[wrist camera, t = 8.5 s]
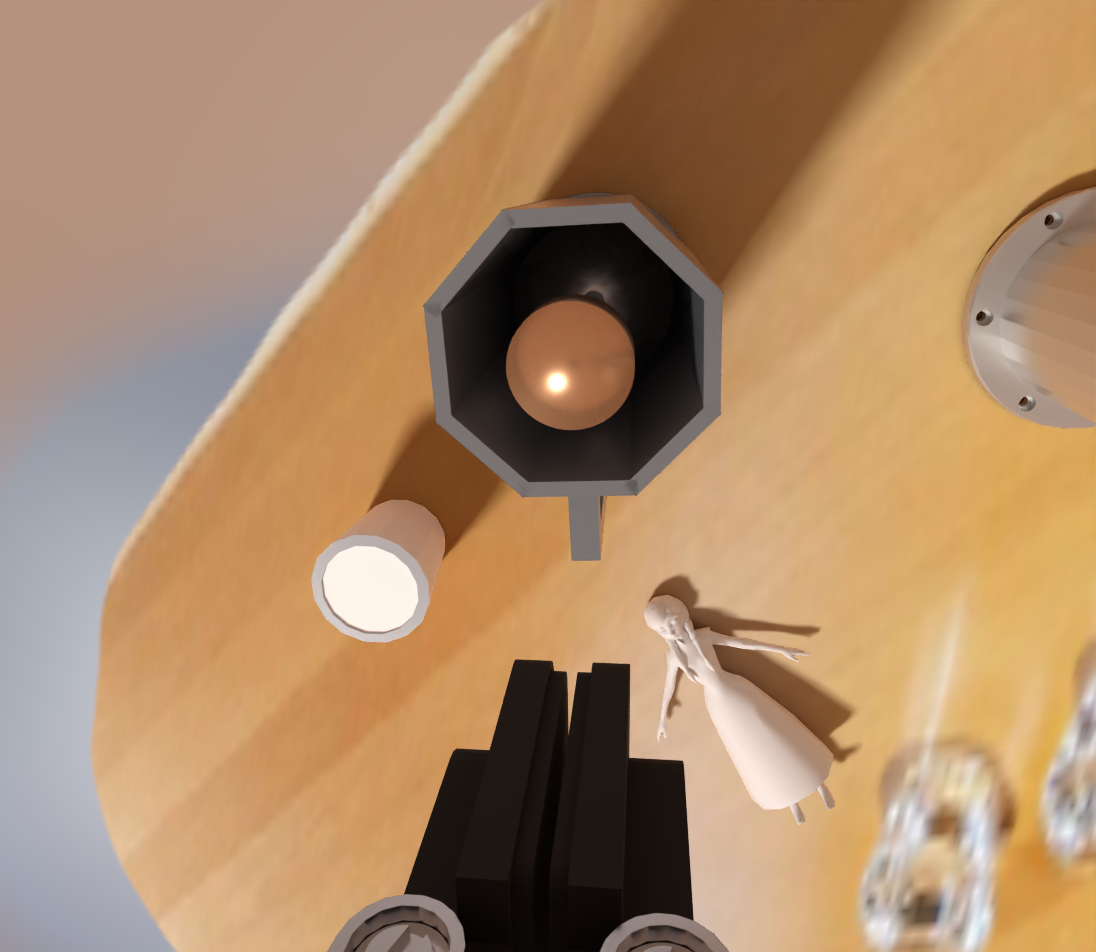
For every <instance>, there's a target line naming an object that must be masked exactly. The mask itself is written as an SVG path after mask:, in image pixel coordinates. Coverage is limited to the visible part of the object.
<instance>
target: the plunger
mask: <svg viewBox="0 0 1096 952" xmlns="http://www.w3.org/2000/svg"><path fill="white" fill-rule="evenodd" d="M514 307H515V314H516V319H517V322H518V326H519V328H518V330H517V331H516V333H515V334H514V336H513V338H512V340H511V343H510V345H509V348H508V352H507V359H506V373H507V379H508V383H509V387H510V389H511V391H512V394H513V396H514V397H515V399H516V401H517V402H518V403H519V405H520V406H521V407H522V408H523V409H524V410H525V411H526V412H527V413H528V414H529V415H530V416H531V417H533V418H534V419H535V420H537V421H539V422H541V423H543V424H545V425H547V426H550V427H553V428H556V429H562V430H580V429H585V428H590V427H592V426H595V425H598V424H600V423H602V422H604V421H605V420H607V419H608V418H609V417H611V416H612V415H613V414H614V413H615V412H617V410H618V409H619V408H620V407H621V406H622V405H623V403H624V401H625V400H626V398H627V396H628V394H629V392H630V390H631V387H632V384H633V379H634V372H635V368H637V367H638V366H640V365H641V364H643V363H644V362H645V361H646V360H647V359H648V358H649V357H650V356H651V355H652V354H653V353H654V352H655V351H656V350H657V348H658V347H659V345H660V344H661V342H662V341H663V339H664V337H665V335H666V333H667V331H668V329H669V326H670V323H671V320H672V314H673V309H674V289H673V283H672V279H671V275H670V272H669V269H668V266H667V264H666V263H665V262H664V261H663V260H662V259H661V258H660V257H659V256H658V255H657V254H656V253H655V252H654V251H652V250H651V249H650V248H649V247H648V246H647V245H646V244H645V243H644V242H643V241H642V240H641V239H640V238H639V237H638V236H637V235H636V234H635V233H634V232H633V231H632V230H631V229H630V228H629V227H627V226H626V225H625V224H624V223H622V222H618V223H600V224H582V225H564V226H559V227H558V228H556V229H554V230H552V231H551V232H549V233H548V234H547V235H545V236H544V237H543V238H542V239H541V240H540V241H539V242H538V243H537V244H536V245H535V246H534V247H533V248H532V249H531V251H530V252H529V254H528V255H527V257H526V258H525V260H524V262H523V264H522V266H521V268H520V271H519V273H518V277H517V281H516V285H515V293H514Z"/></svg>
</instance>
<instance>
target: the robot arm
mask: <svg viewBox="0 0 1096 952" xmlns="http://www.w3.org/2000/svg"><path fill="white" fill-rule="evenodd" d="M1047 215H1049V216H1050V221H1049V223H1048V224H1046V225H1045V223H1044V221H1045V218H1046V216H1047ZM980 311H982V314H983V315H982V317H981V318H980V319H979V320H976V316H977V314H978V313H979V312H980ZM962 337H963V346H964V350H965V354H966V358H967V362H968V365H969V366H970V368H971V370H972V372H973V374H974V376H975V378H976V380H977V382H978V383H979V384H980V385H981V387H982V388H983V389H984V390H985V391H986V393H987V394H988V395H989V396H990V397H991V398H992V399H993V400H995V401H996V402H997V403H999V404H1000V405H1001V406H1003V407H1004V408H1005V409H1007V410H1008V411H1010V412H1011V413H1013V414H1015V415H1016V416H1018V417H1020V418H1023V419H1025V420H1028V421H1031V422H1034V423H1037V424H1039V425H1042V426H1049V427H1055V428H1062V429H1078V428H1092V427H1096V186H1094V187H1090V188H1086V189H1082V190H1078V191H1073V192H1069V193H1067V194H1065V195H1062V196H1060V197H1058V198H1055V199H1053V200H1051V201H1048V202H1046V203H1044V204H1042V205H1041V206H1039V207H1038V208H1036V209H1035V210H1033V211H1031V212H1030V213H1028V214H1027V215H1025V216H1024V217H1022V218H1021V219H1020V220H1019V221H1018V222H1016V223H1015V224H1014V225H1013V226H1012V227H1011V228H1010V229H1008V230H1007V231H1006V232H1005V233H1004V234H1003V235H1002V236H1001V237H1000V238H999V240H998V241H997V242H996V243H995V245H994V246H993V247H992V248H991V249H990V251H989V252H988V253H987V254H986V256H985V258H984V259H983V261H982V263H981V265H980V266H979V268H978V270H977V272H976V273H975V275H974V277H973V280H972V282H971V285H970V288H969V291H968V294H967V296H966V299H965V305H964V311H963V318H962ZM1023 397H1024V401H1023V402H1022V403H1020V404H1019V402H1020V400H1021V399H1022V398H1023ZM629 726H630V664H614V663H593V664H592V672H591V673H587V672H578V674H577V680H576V687H575V694H574V701H573V709H572V716H571V723H570V730H569V735H568V687H567V672H563V671H554V666H553V662H552V661H541V660H515V661H514V664H513V667H512V671H511V675H510V678H509V682H508V686H507V689H506V693H505V696H504V700H503V704H502V707H501V711H500V715H499V718H498V722H497V726H496V729H495V733H494V736H493V740H492V744H491V747H490V750H473V749H456V750H454V751H453V753H452V756H451V758H450V761H449V763H448V766H447V769H446V772H445V775H444V778H443V781H442V784H441V787H440V790H439V793H438V796H437V799H436V802H435V805H434V808H433V811H432V813H431V816H430V819H429V822H428V825H427V828H426V831H425V834H424V837H423V840H422V843H421V846H420V849H419V852H418V855H417V858H416V861H415V863H414V866H413V869H412V872H411V875H410V878H409V881H408V884H407V887H406V890H405V893H404V895H398V896H393V897H388V898H384V899H382V900H379V901H377V902H375V903H373V904H371V905H368V906H366V907H365V908H363V909H362V910H361V911H360V912H358V913H357V914H356V915H354V916H353V917H352V918H350V919H349V920H348V922H347V923H346V924H345V926H344V927H343V928H342V929H341V931H340V932H339V933H338V934H337V936H336V937H335V939H334V941H333V943H332V944H331V946H330V948H329V949H328V951H327V952H729V951H728V949H727V948H726V947H725V946H724V945H723V944H722V942H721V941H720V940H719V939H718V938H717V937H716V936H715V934H714V933H712V932H711V931H709V930H708V929H706V928H705V927H703V926H702V925H700V924H699V923H697V922H695V921H694V920H693V904H692V888H691V872H690V856H689V840H688V824H687V808H686V792H685V776H684V764H683V761H677V760H658V759H640V758H629Z"/></svg>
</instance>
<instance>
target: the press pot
mask: <svg viewBox="0 0 1096 952" xmlns="http://www.w3.org/2000/svg"><path fill="white" fill-rule="evenodd" d="M618 222H622V223H624V224H625V225H626V226H627V227H629V228H630V229H631V230H632V231H633V232H634V233H635V234H636V235H637V236H638V237H639V238H640V239H641V240H642V241H643V242H644V243H645V244H646V245H647V246H648V247H649V248H650V249H651V250H652V251H654V252H655V253H656V254H657V255H658V256H659V257H660V258H661V259H662V260H663V261H664V262H665V263H666V264H667V266H668V269H669V272H670V275H671V279H672V283H673V289H674V309H673V314H672V320H671V323H670V326H669V329H668V331H667V333H666V335H665V337H664V339H663V341H662V342H661V344H660V345H659V347H658V348H657V350H656V351H655V352H654V353H653V354H652V355H651V356H650V357H649V358H648V359H647V360H646V361H645V362H644V363H643V364H641V365H640V366H638V367H637V368H635V372H634V379H633V384H632V387H631V390H630V392H629V394H628V396H627V398H626V400H625V401H624V403H623V405H622V406H621V407H620V408H619V409H618V410H617V412H615V413H614V414H613V415H612V416H611V417H609V418H608V419H607V420H605V421H604V422H602V423H600V424H598V425H595V426H592V427H590V428H585V429H580V430H562V429H556V428H553V427H550V426H547V425H545V424H543V423H541V422H539V421H537V420H535V419H534V418H533V417H531V416H530V415H529V414H528V413H527V412H526V411H525V410H524V409H523V408H522V407H521V406H520V405H519V403H518V402H517V401H516V399H515V397H514V396H513V394H512V391H511V389H510V387H509V383H508V379H507V373H506V359H507V352H508V348H509V345H510V343H511V340H512V338H513V336H514V334H515V333H516V331H517V330H518V328H519V326H518V322H517V319H516V314H515V307H514V293H515V285H516V281H517V277H518V273H519V271H520V268H521V266H522V264H523V262H524V260H525V258H526V257H527V255H528V254H529V252H530V251H531V249H532V248H533V247H534V246H535V245H536V244H537V243H538V242H539V241H540V240H541V239H542V238H543V237H544V236H545V235H547V234H548V233H549V232H551V231H552V230H554V229H556V228H558V227H559V226H564V225H582V224H600V223H618ZM722 294H723V292H722V290H721V288H720V287H719V286H718V285H717V283H716V282H715V281H714V279H713V278H712V277H711V275H710V274H709V273H708V272H707V270H706V269H705V268H704V266H703V265H702V264H701V263H700V261H699V260H698V259H697V257H696V256H695V255H694V253H693V252H692V251H690V250H689V249H688V248H687V247H686V246H685V245H684V244H683V243H682V242H681V240H680V239H679V237H678V236H677V234H676V233H675V231H674V230H673V229H672V227H671V226H670V225H669V224H668V223H667V222H666V221H665V220H664V219H663V218H662V217H661V216H660V215H659V214H657V213H656V212H655V211H654V210H652V209H651V208H649V207H647V206H646V205H644V204H643V203H641V202H640V201H639V200H638V199H637V198H636V197H635V196H634V195H633V194H631V195H618V194H611V193H594V192H592V193H585V194H578V195H574V196H571V197H567V198H563V199H547V200H543V201H538V202H533V203H529V204H524V205H520V206H515V207H511V208H506V209H503V210H501V212H500V213H499V214H498V216H497V217H496V218H495V219H494V221H493V222H492V223H491V224H490V225H489V227H488V228H487V229H486V230H485V232H484V233H483V234H482V235H481V236H480V238H479V239H478V240H477V241H476V242H475V244H474V245H473V246H472V247H471V249H470V250H469V251H468V252H467V253H466V255H465V256H464V257H463V258H462V259H461V261H460V262H459V263H458V264H457V266H456V267H455V268H454V269H453V270H452V272H451V273H450V274H449V275H448V276H447V278H446V279H445V280H444V281H443V283H442V284H441V285H440V286H439V287H438V289H437V290H436V291H435V292H434V293H433V295H432V296H431V297H430V298H429V300H428V301H427V302H426V303H425V304H424V306H423V307H424V312H425V322H426V331H427V340H428V350H429V359H430V368H431V378H432V387H433V396H434V406H435V415H436V421H435V422H436V423H438V424H439V425H440V426H441V427H442V428H443V429H445V430H446V431H447V432H448V433H449V434H450V435H452V436H453V437H454V438H455V439H456V440H457V441H458V442H460V443H461V444H462V445H463V446H464V447H465V448H467V449H468V450H469V451H470V452H471V453H472V454H474V455H475V456H476V457H477V458H478V459H479V460H480V461H482V462H483V463H484V464H485V465H486V466H487V467H489V468H490V469H491V470H492V471H493V472H494V473H495V474H497V475H498V476H499V477H500V478H501V479H502V480H504V481H505V482H506V483H507V484H508V485H509V486H510V487H512V488H513V489H514V490H515V491H516V492H517V493H519V494H520V495H521V496H522V497H523V498H524V497H561V496H568V500H569V519H570V538H571V557H572V561H592V560H601V551H602V540H603V530H604V519H605V509H606V498H607V496H621V495H635V496H636V495H638V493H639V492H640V491H642V490H643V489H644V488H645V487H646V486H647V485H648V484H649V483H650V482H651V481H652V480H653V479H654V478H655V477H656V476H657V475H658V474H659V473H660V472H661V471H662V470H663V469H664V468H665V467H666V466H667V465H669V464H670V463H671V462H672V461H673V460H674V459H675V458H676V457H677V456H678V455H679V454H680V453H681V452H682V451H683V450H684V449H685V448H686V447H687V446H688V445H689V444H690V443H691V442H692V441H693V440H694V439H695V438H697V437H698V436H699V435H700V434H701V433H702V432H703V431H704V430H705V429H706V428H707V427H708V426H709V425H710V424H711V423H712V422H713V421H714V420H715V419H716V418H717V417H718V416H720V414H721V342H722Z"/></svg>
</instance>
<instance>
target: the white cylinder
mask: <svg viewBox="0 0 1096 952" xmlns="http://www.w3.org/2000/svg"><path fill="white" fill-rule="evenodd" d="M445 549H446V548H445V533H444V531H443V529H442V527H441V525H440V523H439V521H438V519H437V518H436V517H435V516H434V515H433V514H432V513H431V512H430V511H429V510H427V509H426V508H425V507H424V506H422V505H419V504H417V503H414V502H412V501H409V500H389V501H386V502H383V503H381V504H378V505H376V506H375V507H373V508H372V509H371V510H370V511H369V512H368V513H366V514H365V515H364V516H363V517H362V518H361V519H359V520H358V521H357V522H356V523H355V524H354V525H353V526H351V527H350V528H349V529H348V530H347V531H346V532H344V533H343V534H342V535H341V536H340V537H339V538H337V539H336V540H335V541H334V542H333V543H332V544H331V545H330V546H329V547H328V548H327V549H326V550H325V551H324V552H323V553H322V554H321V555H320V556H319V557H318V558H317V561H316V564H315V568H314V571H313V574H312V577H311V579H312V587H313V594H314V599H315V601H316V603H317V605H318V606H319V608H320V610H321V612H322V613H323V615H324V617H325V618H326V619H327V620H328V621H329V622H330V623H332V624H333V625H334V626H335V627H336V628H338V629H339V630H340V631H341V632H342V633H344V634H347V635H349V636H352V637H354V638H357V639H359V640H362V641H364V642H390V641H393V640H395V639H398V638H401V637H404V636H407V635H408V634H409V633H410V632H411V631H413V630H414V629H415V628H416V627H417V626H418V625H419V624H420V623H421V622H422V621H423V618H424V616H425V613H426V610H427V608H428V605H429V603H430V599H431V596H432V593H433V589H434V586H435V582H436V579H437V576H438V572H439V569H440V566H441V562H442V559H443V555H444V552H445Z"/></svg>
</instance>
